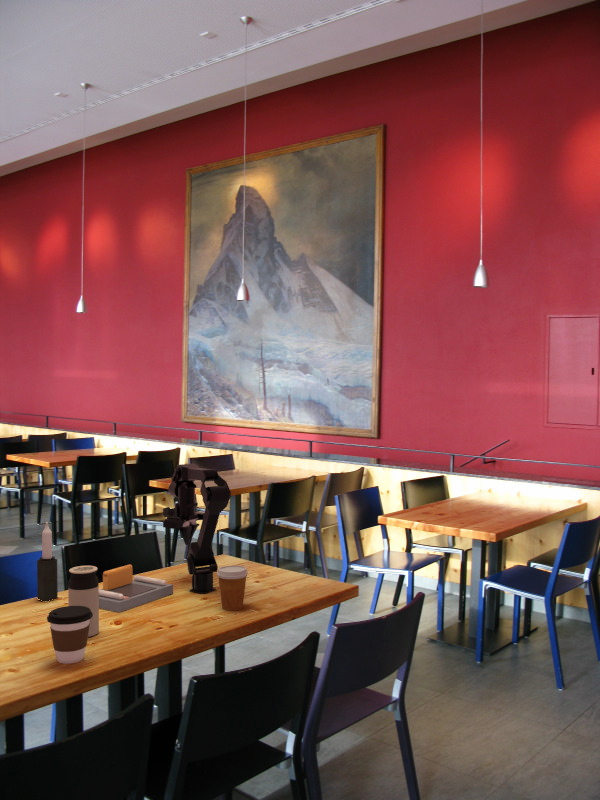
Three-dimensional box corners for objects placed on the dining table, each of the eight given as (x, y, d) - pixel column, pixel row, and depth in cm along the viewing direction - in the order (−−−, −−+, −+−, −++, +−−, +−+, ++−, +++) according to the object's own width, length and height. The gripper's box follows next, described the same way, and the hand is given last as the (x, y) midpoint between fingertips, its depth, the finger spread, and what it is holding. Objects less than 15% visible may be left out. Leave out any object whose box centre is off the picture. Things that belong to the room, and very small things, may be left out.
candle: (45, 602, 233) (44, 523, 233) (35, 599, 236) (35, 521, 236) (59, 598, 237) (58, 521, 237) (49, 596, 241) (49, 519, 240)
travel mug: (104, 633, 203) (103, 568, 203) (77, 640, 198) (76, 573, 198) (89, 627, 209) (89, 563, 209) (63, 633, 204) (63, 568, 203)
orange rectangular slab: (132, 582, 244) (132, 564, 244) (107, 590, 234) (107, 571, 234) (128, 581, 245) (128, 564, 245) (103, 589, 236) (102, 571, 235)
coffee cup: (55, 670, 177) (54, 620, 177) (41, 657, 186) (41, 610, 185) (99, 660, 183) (99, 612, 183) (84, 648, 192) (83, 602, 192)
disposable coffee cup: (210, 609, 226) (210, 570, 225) (228, 601, 234) (227, 563, 234) (237, 613, 221) (237, 573, 221) (253, 605, 230) (253, 567, 229)
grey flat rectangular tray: (173, 593, 243) (173, 579, 243) (119, 612, 223) (119, 596, 223) (137, 586, 252) (137, 572, 251) (82, 604, 231) (82, 589, 231)
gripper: (186, 495, 270) (187, 537, 270) (150, 501, 254) (151, 547, 254) (210, 497, 264) (210, 540, 264) (175, 504, 248) (175, 550, 248)
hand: (187, 544), depth 258 cm, fingers closed
